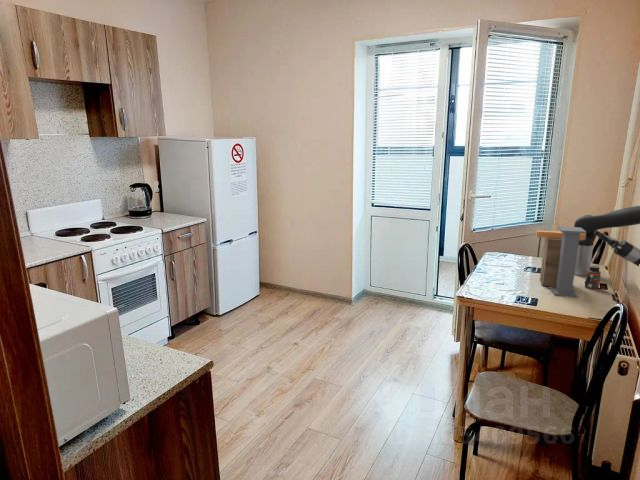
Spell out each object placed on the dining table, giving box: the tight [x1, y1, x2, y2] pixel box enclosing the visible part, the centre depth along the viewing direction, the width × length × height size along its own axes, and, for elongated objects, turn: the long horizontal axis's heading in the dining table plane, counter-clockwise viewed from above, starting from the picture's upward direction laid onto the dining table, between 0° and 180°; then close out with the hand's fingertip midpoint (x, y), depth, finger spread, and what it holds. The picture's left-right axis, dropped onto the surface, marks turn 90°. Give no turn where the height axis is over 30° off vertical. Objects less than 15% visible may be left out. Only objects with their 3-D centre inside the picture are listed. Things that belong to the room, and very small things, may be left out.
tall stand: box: [549, 225, 586, 298], centre depth 208 cm, size 10×10×32 cm
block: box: [535, 229, 586, 240], centre depth 218 cm, size 3×22×3 cm, turn 71°
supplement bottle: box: [584, 265, 602, 290], centre depth 217 cm, size 6×6×11 cm
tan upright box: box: [539, 238, 562, 288], centre depth 221 cm, size 10×12×25 cm
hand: (597, 233), depth 212 cm, fingers open, 8 cm apart
